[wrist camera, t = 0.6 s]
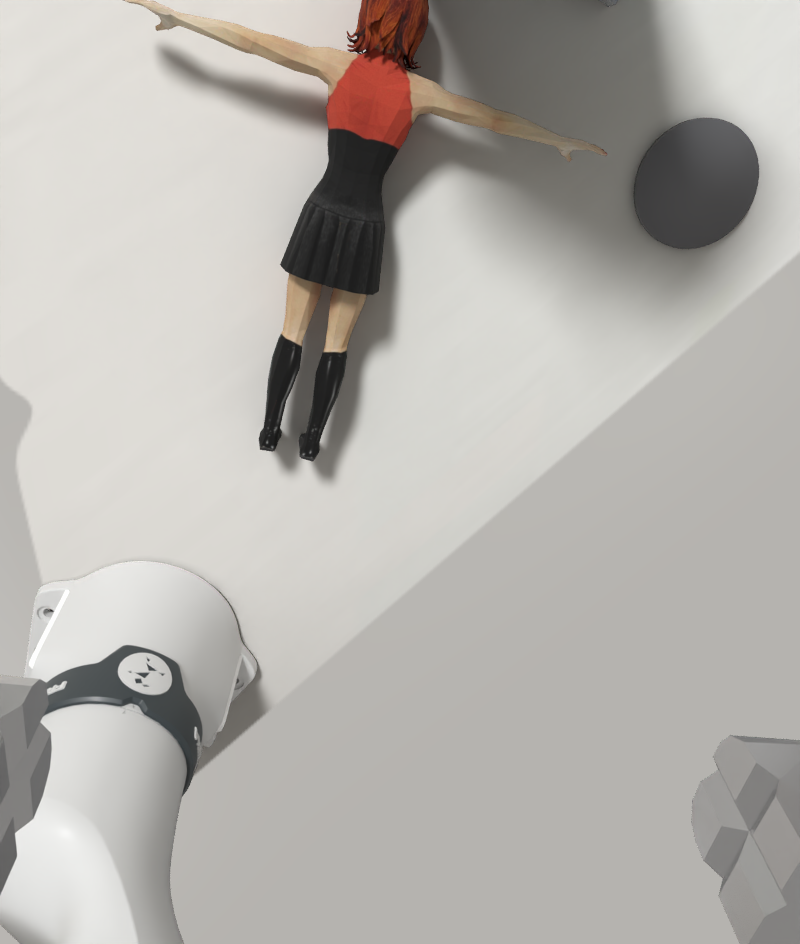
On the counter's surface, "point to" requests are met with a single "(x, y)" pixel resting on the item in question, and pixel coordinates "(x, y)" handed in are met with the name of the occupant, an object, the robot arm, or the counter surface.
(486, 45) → the counter surface
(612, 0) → the housing
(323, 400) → the figurine
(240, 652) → the robot arm
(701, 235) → the pad
